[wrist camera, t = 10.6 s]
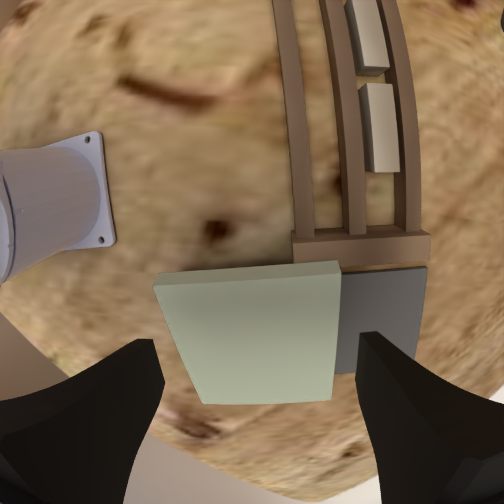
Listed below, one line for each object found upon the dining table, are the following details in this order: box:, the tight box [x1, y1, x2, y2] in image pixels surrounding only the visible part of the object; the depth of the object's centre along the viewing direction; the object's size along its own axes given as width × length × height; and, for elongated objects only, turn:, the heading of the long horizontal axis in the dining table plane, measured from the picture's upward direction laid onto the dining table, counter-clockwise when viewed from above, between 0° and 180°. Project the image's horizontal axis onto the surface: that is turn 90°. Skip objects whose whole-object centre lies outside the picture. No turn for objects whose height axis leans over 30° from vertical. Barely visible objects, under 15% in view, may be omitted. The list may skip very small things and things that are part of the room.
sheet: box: [152, 260, 341, 404], centre depth 20 cm, size 1×12×10 cm
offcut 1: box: [344, 0, 390, 77], centre depth 15 cm, size 2×5×2 cm, turn 5°
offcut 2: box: [358, 83, 400, 172], centre depth 16 cm, size 2×5×2 cm, turn 5°
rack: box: [272, 0, 431, 267], centre depth 15 cm, size 8×21×3 cm, turn 5°
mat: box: [334, 266, 428, 374], centre depth 21 cm, size 12×8×1 cm, turn 95°
